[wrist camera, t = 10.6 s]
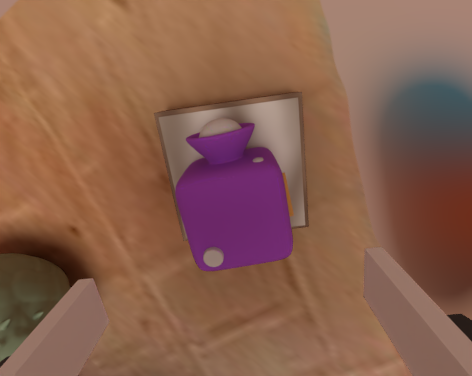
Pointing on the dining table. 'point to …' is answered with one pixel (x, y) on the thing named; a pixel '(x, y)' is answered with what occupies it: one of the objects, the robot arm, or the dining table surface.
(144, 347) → the dining table surface
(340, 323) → the dining table surface
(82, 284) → the robot arm
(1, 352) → the cabbage
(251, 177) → the toy camera
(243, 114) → the stand
